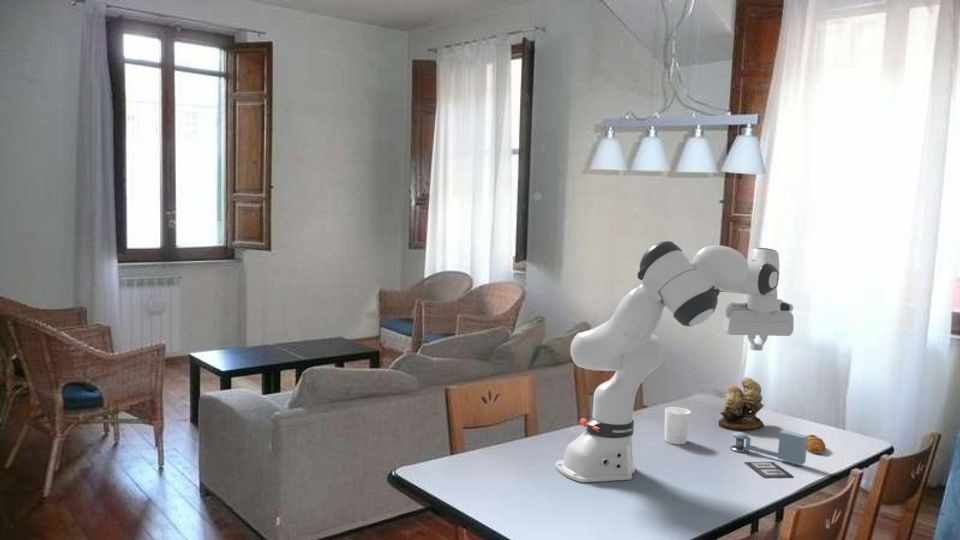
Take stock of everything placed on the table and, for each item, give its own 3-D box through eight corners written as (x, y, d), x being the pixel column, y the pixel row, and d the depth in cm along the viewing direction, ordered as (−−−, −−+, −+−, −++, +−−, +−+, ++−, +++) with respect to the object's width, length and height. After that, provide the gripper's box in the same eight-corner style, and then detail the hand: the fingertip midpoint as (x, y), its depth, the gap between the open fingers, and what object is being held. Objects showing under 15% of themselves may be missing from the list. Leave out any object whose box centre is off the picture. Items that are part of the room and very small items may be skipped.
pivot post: (739, 453, 224) (740, 441, 224) (726, 448, 229) (727, 436, 228) (751, 451, 226) (752, 439, 226) (739, 446, 231) (740, 434, 231)
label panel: (763, 477, 205) (763, 475, 205) (744, 463, 216) (744, 461, 216) (793, 477, 207) (793, 475, 207) (773, 462, 217) (773, 461, 217)
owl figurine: (745, 417, 263) (749, 370, 261) (773, 427, 253) (778, 378, 251) (709, 423, 254) (714, 374, 252) (737, 433, 244) (742, 383, 242)
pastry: (830, 456, 226) (831, 444, 226) (806, 454, 227) (807, 442, 227) (820, 446, 235) (821, 434, 235) (798, 444, 236) (799, 432, 236)
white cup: (686, 438, 237) (688, 407, 236) (690, 446, 229) (692, 415, 228) (661, 436, 237) (663, 405, 236) (664, 444, 230) (666, 413, 229)
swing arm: (729, 446, 227) (731, 421, 226) (735, 443, 231) (737, 418, 230) (801, 465, 214) (803, 438, 213) (806, 461, 217) (808, 435, 216)
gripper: (731, 304, 210) (727, 352, 212) (798, 305, 213) (794, 352, 214) (721, 300, 216) (717, 347, 218) (786, 302, 219) (782, 348, 221)
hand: (756, 350), depth 216 cm, fingers closed
